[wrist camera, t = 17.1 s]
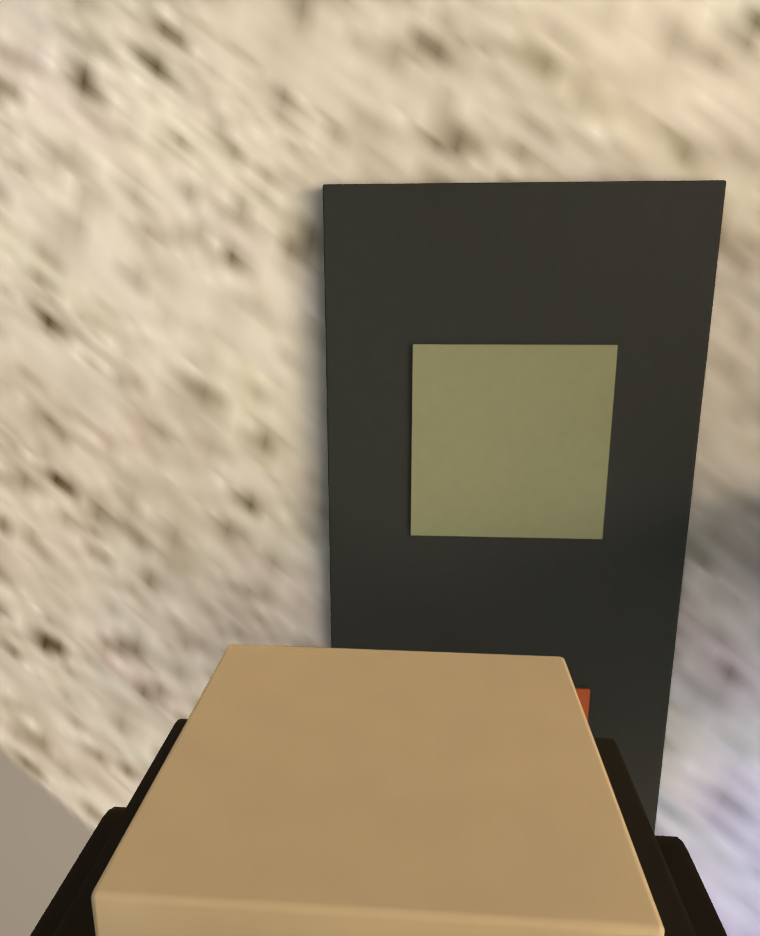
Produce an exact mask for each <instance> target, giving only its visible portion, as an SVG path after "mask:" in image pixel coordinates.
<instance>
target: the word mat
mask: <svg viewBox="0 0 760 936" xmlns="http://www.w3.org/2000/svg"><path fill="white" fill-rule="evenodd" d="M725 188H726V181H725V180H710V181H614V182H519V183H423V184H328V185H323V220H324V273H325V327H326V380H327V434H328V487H329V541H330V594H331V648H347V649H373V650H399V651H426V652H452V653H478V654H505V655H531V656H557V657H562V658H564V660H565V663H566V665H567V668H568V671H569V673H570V676H571V679H572V681H573V684H574V687H575V690H576V692H577V695H578V698H579V700H580V703H581V706H582V708H583V711H584V714H585V717H586V719H587V722H588V725H589V727H590V730H591V733H592V735H593V737H596V738H613V739H614V740H615V742H616V743H617V746H618V748H619V750H620V753H621V755H622V757H623V760H624V762H625V765H626V767H627V769H628V772H629V774H630V777H631V779H632V781H633V784H634V786H635V789H636V791H637V793H638V796H639V798H640V801H641V803H642V805H643V808H644V810H645V813H646V815H647V817H648V820H649V822H650V825H651V827H652V829H653V832H654V830H655V821H656V812H657V803H658V794H659V785H660V776H661V767H662V758H663V749H664V740H665V731H666V722H667V713H668V704H669V695H670V686H671V676H672V667H673V658H674V649H675V640H676V631H677V622H678V613H679V604H680V595H681V586H682V577H683V568H684V559H685V550H686V541H687V532H688V523H689V513H690V504H691V495H692V486H693V477H694V468H695V459H696V450H697V441H698V432H699V423H700V414H701V405H702V396H703V387H704V378H705V369H706V360H707V351H708V341H709V332H710V323H711V314H712V305H713V296H714V287H715V278H716V269H717V260H718V251H719V242H720V233H721V224H722V215H723V206H724V197H725Z"/></svg>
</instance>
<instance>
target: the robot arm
mask: <svg viewBox="0 0 760 936" xmlns="http://www.w3.org/2000/svg"><path fill="white" fill-rule="evenodd" d="M187 720H188V719H179V720H178V721H177V722H176V723H175V725H174V726H173V728H172V730H171V731H170V733H169V735H168V737H167V738H166V740H165V742H164V744H163V745H162V747H161V749H160V750H159V752H158V754H157V756H156V757H155V759H154V761H153V762H152V764H151V766H150V768H149V769H148V771H147V773H146V775H145V776H144V778H143V780H142V781H141V783H140V785H139V787H138V788H137V790H136V792H135V794H134V795H133V797H132V799H131V800H130V802H129V804H128V806H127V807H113V808H112V809H110V810H108V812H107V813H106V814H105V815H104V817H103V818H102V819H101V821H100V823H99V824H98V826H97V828H96V829H95V831H94V832H93V834H92V836H91V838H90V839H89V841H88V842H87V844H86V846H85V847H84V849H83V850H82V852H81V854H80V855H79V857H78V859H77V860H76V862H75V864H74V865H73V867H72V868H71V870H70V872H69V873H68V875H67V877H66V878H65V880H64V881H63V883H62V885H61V886H60V888H59V889H58V891H57V893H56V895H55V896H54V898H53V899H52V901H51V903H50V904H49V906H48V908H47V909H46V911H45V912H44V914H43V916H42V917H41V919H40V920H39V922H38V924H37V925H36V927H35V929H34V930H33V932H32V933H31V935H30V936H96V934H95V926H94V918H93V910H92V902H91V897H92V893H93V890H94V888H95V887H96V885H97V883H98V881H99V879H100V878H101V876H102V874H103V872H104V870H105V869H106V867H107V865H108V863H109V861H110V859H111V858H112V856H113V854H114V852H115V850H116V849H117V847H118V845H119V843H120V841H121V840H122V838H123V836H124V834H125V832H126V831H127V829H128V827H129V825H130V823H131V821H132V820H133V818H134V816H135V814H136V812H137V811H138V809H139V807H140V805H141V803H142V802H143V800H144V798H145V796H146V794H147V792H148V791H149V789H150V787H151V785H152V783H153V782H154V780H155V778H156V776H157V774H158V773H159V771H160V769H161V767H162V765H163V764H164V762H165V760H166V758H167V756H168V754H169V753H170V751H171V749H172V747H173V745H174V744H175V742H176V740H177V738H178V736H179V735H180V733H181V731H182V729H183V727H184V726H185V724H186V722H187ZM593 738H594V741H595V743H596V746H597V749H598V752H599V754H600V757H601V760H602V762H603V765H604V768H605V770H606V773H607V776H608V779H609V781H610V784H611V787H612V789H613V792H614V795H615V797H616V800H617V803H618V806H619V808H620V811H621V814H622V816H623V819H624V822H625V824H626V827H627V830H628V832H629V835H630V838H631V841H632V843H633V846H634V849H635V851H636V854H637V857H638V859H639V862H640V865H641V868H642V870H643V873H644V876H645V878H646V881H647V884H648V886H649V889H650V892H651V894H652V897H653V900H654V903H655V905H656V908H657V911H658V913H659V916H660V919H661V921H662V924H663V927H664V930H665V932H664V936H727V934H726V932H725V930H724V928H723V926H722V923H721V921H720V919H719V917H718V915H717V913H716V910H715V908H714V906H713V904H712V902H711V900H710V898H709V895H708V893H707V891H706V889H705V887H704V885H703V882H702V880H701V878H700V876H699V874H698V872H697V870H696V867H695V865H694V863H693V861H692V859H691V857H690V854H689V852H688V850H687V849H686V847H685V845H684V843H683V842H682V841H681V840H680V839H679V838H678V837H671V836H655V834H654V832H653V829H652V827H651V825H650V822H649V820H648V817H647V815H646V813H645V810H644V808H643V805H642V803H641V801H640V798H639V796H638V793H637V791H636V789H635V786H634V784H633V781H632V779H631V777H630V774H629V772H628V769H627V767H626V765H625V762H624V760H623V757H622V755H621V753H620V750H619V748H618V746H617V743H616V742H615V740H614V739H613V738H596V737H593Z"/></svg>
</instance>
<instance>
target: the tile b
mask: <svg viewBox="0 0 760 936" xmlns="http://www.w3.org/2000/svg"><path fill="white" fill-rule="evenodd" d="M91 902H92V910H93V918H94V926H95V934H96V936H664V932H665V930H664V927H663V924H662V921H661V919H660V916H659V913H658V911H657V908H656V905H655V903H654V900H653V897H652V894H651V892H650V889H649V886H648V884H647V881H646V878H645V876H644V873H643V870H642V868H641V865H640V862H639V859H638V857H637V854H636V851H635V849H634V846H633V843H632V841H631V838H630V835H629V832H628V830H627V827H626V824H625V822H624V819H623V816H622V814H621V811H620V808H619V806H618V803H617V800H616V797H615V795H614V792H613V789H612V787H611V784H610V781H609V779H608V776H607V773H606V770H605V768H604V765H603V762H602V760H601V757H600V754H599V752H598V749H597V746H596V743H595V741H594V738H593V735H592V733H591V730H590V727H589V725H588V722H587V719H586V717H585V714H584V711H583V708H582V706H581V703H580V700H579V698H578V695H577V692H576V690H575V687H574V684H573V681H572V679H571V676H570V673H569V671H568V668H567V665H566V663H565V660H564V658H562V657H557V656H531V655H505V654H478V653H452V652H426V651H399V650H373V649H347V648H321V647H294V646H268V645H242V644H232V645H229V646H228V648H227V649H226V651H225V653H224V655H223V657H222V659H221V660H220V662H219V664H218V666H217V668H216V669H215V671H214V673H213V675H212V677H211V678H210V680H209V682H208V684H207V686H206V687H205V689H204V691H203V693H202V695H201V697H200V698H199V700H198V702H197V704H196V706H195V707H194V709H193V711H192V713H191V715H190V716H189V718H188V720H187V722H186V724H185V726H184V727H183V729H182V731H181V733H180V735H179V736H178V738H177V740H176V742H175V744H174V745H173V747H172V749H171V751H170V753H169V754H168V756H167V758H166V760H165V762H164V764H163V765H162V767H161V769H160V771H159V773H158V774H157V776H156V778H155V780H154V782H153V783H152V785H151V787H150V789H149V791H148V792H147V794H146V796H145V798H144V800H143V802H142V803H141V805H140V807H139V809H138V811H137V812H136V814H135V816H134V818H133V820H132V821H131V823H130V825H129V827H128V829H127V831H126V832H125V834H124V836H123V838H122V840H121V841H120V843H119V845H118V847H117V849H116V850H115V852H114V854H113V856H112V858H111V859H110V861H109V863H108V865H107V867H106V869H105V870H104V872H103V874H102V876H101V878H100V879H99V881H98V883H97V885H96V887H95V888H94V890H93V893H92V897H91Z"/></svg>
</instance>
